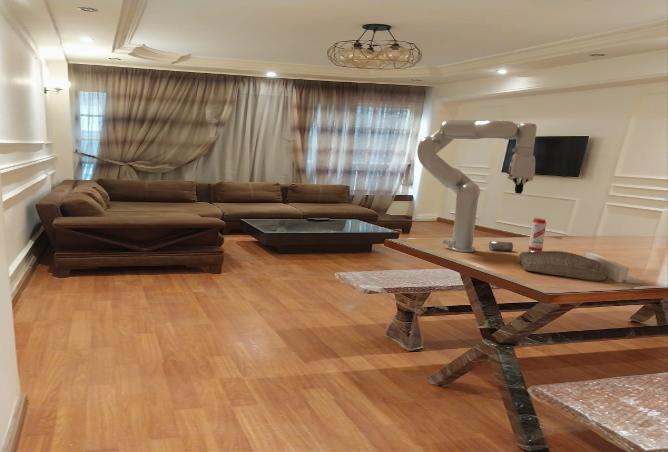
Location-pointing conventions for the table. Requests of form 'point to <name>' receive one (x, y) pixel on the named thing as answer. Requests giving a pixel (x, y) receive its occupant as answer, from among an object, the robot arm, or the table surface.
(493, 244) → the roller
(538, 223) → the beer can
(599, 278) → the stone tablet
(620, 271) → the rail
